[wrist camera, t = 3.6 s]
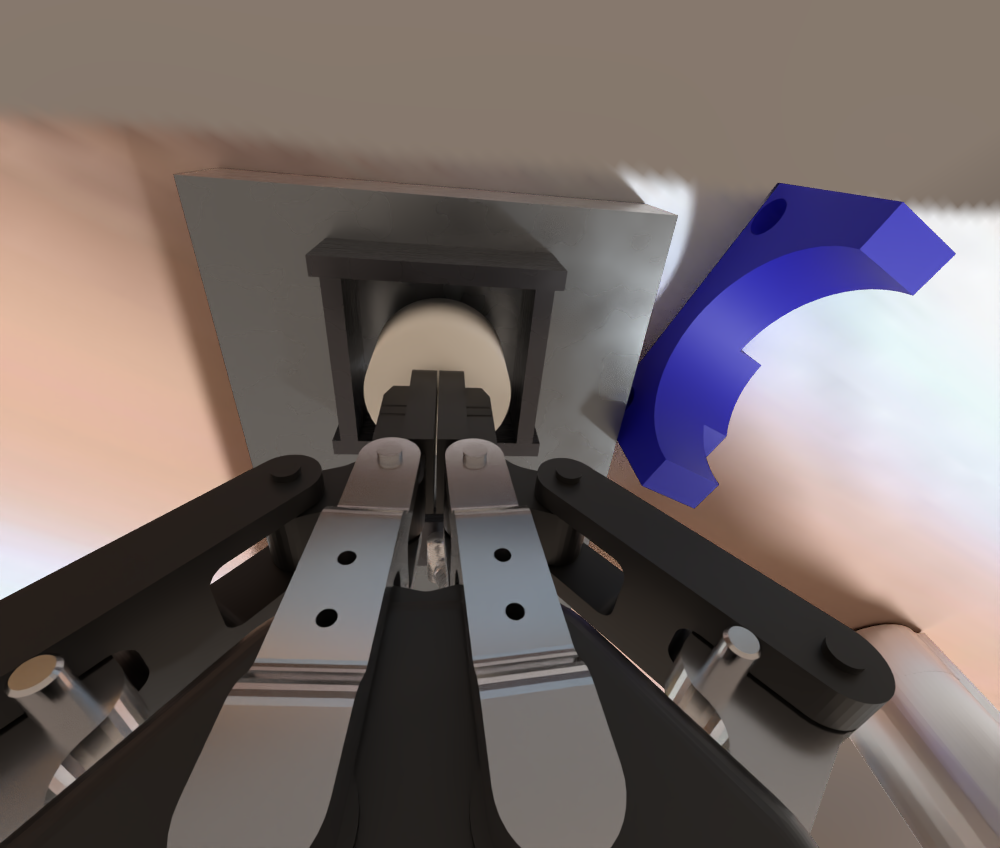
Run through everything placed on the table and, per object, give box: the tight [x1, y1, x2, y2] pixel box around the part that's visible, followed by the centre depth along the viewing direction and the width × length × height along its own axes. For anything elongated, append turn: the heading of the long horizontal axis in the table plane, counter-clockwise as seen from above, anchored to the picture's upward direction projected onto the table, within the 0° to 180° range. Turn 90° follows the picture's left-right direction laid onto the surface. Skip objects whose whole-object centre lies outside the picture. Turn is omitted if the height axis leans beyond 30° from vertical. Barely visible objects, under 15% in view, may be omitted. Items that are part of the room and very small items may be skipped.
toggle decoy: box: [427, 532, 447, 589], centre depth 20 cm, size 1×2×5 cm, turn 175°
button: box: [364, 298, 511, 455], centre depth 15 cm, size 4×4×3 cm
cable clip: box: [617, 183, 956, 508], centre depth 19 cm, size 12×4×6 cm, turn 150°
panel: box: [173, 168, 678, 609], centre depth 23 cm, size 16×30×6 cm, turn 175°
